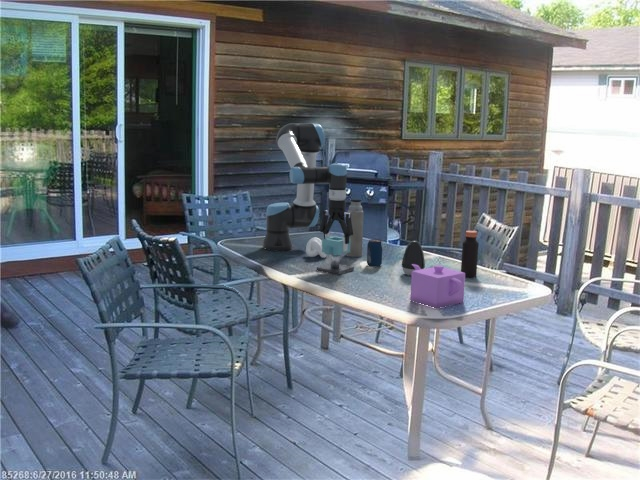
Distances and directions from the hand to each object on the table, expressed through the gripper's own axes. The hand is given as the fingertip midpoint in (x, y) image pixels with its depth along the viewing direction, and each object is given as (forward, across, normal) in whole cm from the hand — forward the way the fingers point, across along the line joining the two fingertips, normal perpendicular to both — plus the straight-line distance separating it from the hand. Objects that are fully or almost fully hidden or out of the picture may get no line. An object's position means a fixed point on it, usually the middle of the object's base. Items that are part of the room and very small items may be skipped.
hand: (336, 249), depth 289 cm
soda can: (+10, +8, +20) cm, 24 cm away
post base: (+10, 0, 0) cm, 10 cm away
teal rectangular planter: (+1, 0, 0) cm, 1 cm away
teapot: (+10, +57, -15) cm, 59 cm away
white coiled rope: (+10, -24, +18) cm, 32 cm away
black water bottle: (+10, +50, +31) cm, 60 cm away
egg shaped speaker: (+10, +30, +17) cm, 36 cm away
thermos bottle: (+9, -12, +33) cm, 37 cm away
